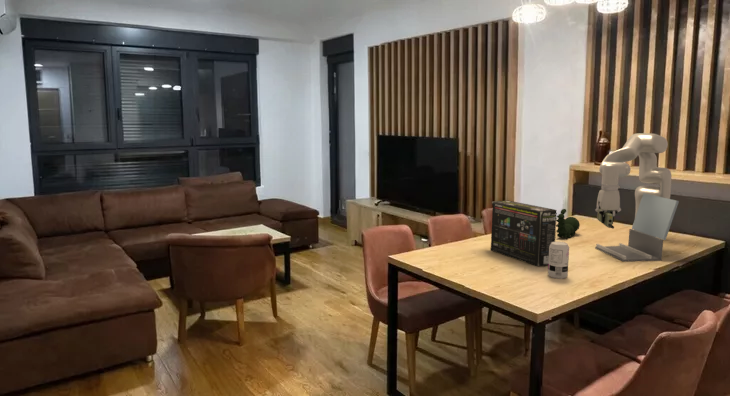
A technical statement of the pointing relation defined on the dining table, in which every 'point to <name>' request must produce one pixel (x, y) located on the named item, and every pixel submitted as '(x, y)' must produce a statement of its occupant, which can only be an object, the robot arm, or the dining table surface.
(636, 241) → the grey sloped stand
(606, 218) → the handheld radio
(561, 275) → the supplement can
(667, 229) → the cover
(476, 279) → the dining table surface
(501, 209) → the router box
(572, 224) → the toy figurine
